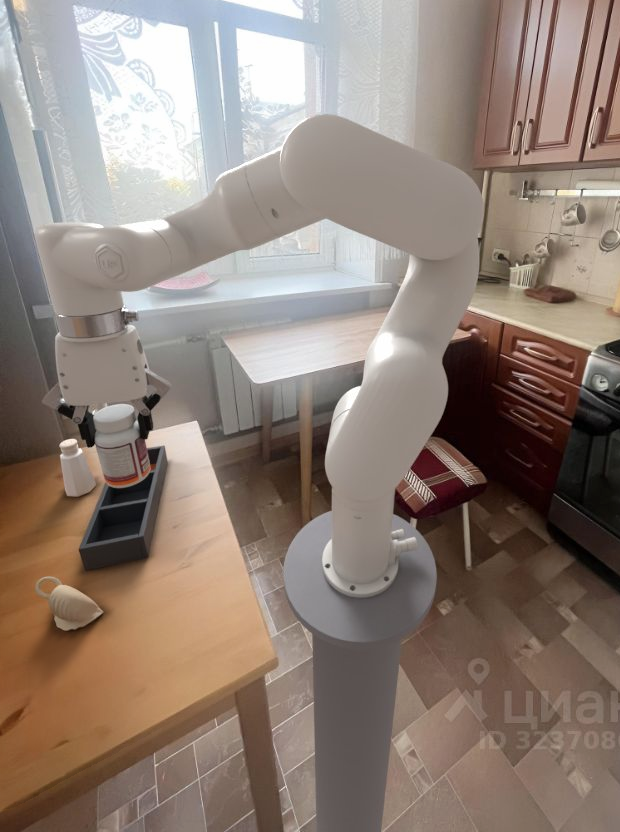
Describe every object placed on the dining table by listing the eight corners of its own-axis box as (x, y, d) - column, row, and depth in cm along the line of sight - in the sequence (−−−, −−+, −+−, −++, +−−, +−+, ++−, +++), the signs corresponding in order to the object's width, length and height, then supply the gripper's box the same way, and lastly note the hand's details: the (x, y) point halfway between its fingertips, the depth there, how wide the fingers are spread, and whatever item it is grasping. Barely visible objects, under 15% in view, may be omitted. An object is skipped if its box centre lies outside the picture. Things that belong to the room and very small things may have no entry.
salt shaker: (86, 476, 83) (73, 431, 79) (103, 483, 81) (91, 438, 77) (58, 492, 78) (44, 445, 74) (75, 500, 76) (61, 453, 72)
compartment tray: (167, 462, 88) (164, 445, 86) (148, 557, 65) (143, 536, 63) (121, 469, 85) (117, 452, 83) (84, 570, 62) (78, 549, 61)
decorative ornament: (75, 640, 53) (65, 613, 51) (39, 612, 56) (28, 586, 54) (104, 613, 56) (96, 587, 54) (69, 588, 60) (60, 563, 58)
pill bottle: (136, 458, 64) (123, 397, 60) (159, 472, 61) (147, 409, 57) (97, 479, 59) (79, 415, 55) (119, 495, 56) (103, 428, 52)
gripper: (169, 310, 57) (185, 417, 64) (25, 318, 52) (59, 433, 58) (163, 326, 51) (182, 443, 57) (-2, 336, 45) (40, 464, 52)
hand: (120, 437), depth 58 cm, fingers closed on pill bottle, 6 cm apart
